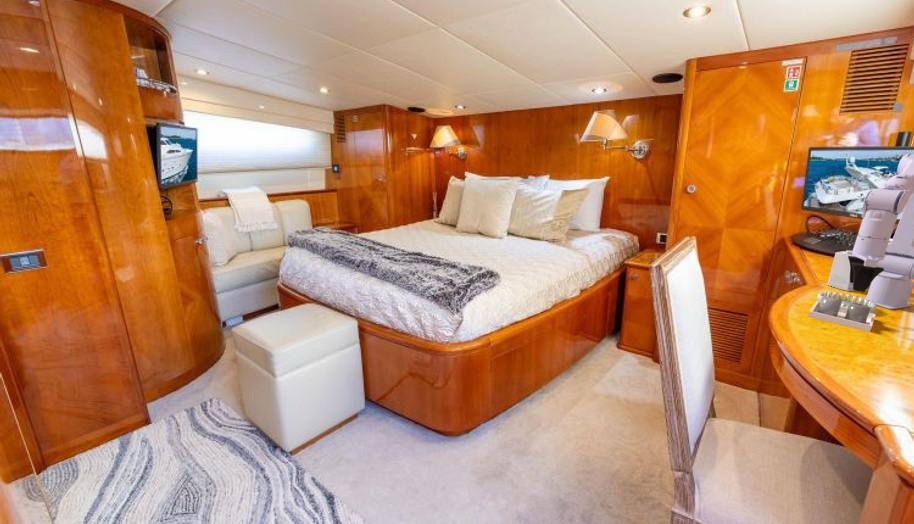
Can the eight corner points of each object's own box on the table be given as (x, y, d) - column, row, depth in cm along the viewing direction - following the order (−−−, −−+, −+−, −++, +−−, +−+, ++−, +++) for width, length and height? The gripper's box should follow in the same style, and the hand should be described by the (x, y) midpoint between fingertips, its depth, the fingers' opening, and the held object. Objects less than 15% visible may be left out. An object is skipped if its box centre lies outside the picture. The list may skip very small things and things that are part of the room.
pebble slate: (823, 311, 110) (828, 296, 108) (840, 316, 106) (845, 301, 105) (813, 312, 109) (818, 297, 107) (830, 318, 105) (835, 303, 104)
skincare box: (855, 290, 128) (867, 255, 125) (846, 291, 127) (858, 256, 123) (834, 284, 134) (844, 250, 130) (825, 285, 132) (835, 251, 129)
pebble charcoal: (850, 317, 106) (855, 302, 104) (869, 323, 102) (874, 308, 101) (840, 319, 105) (845, 303, 103) (858, 325, 101) (864, 309, 100)
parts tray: (814, 307, 113) (816, 300, 113) (873, 321, 105) (875, 314, 104) (807, 318, 106) (809, 311, 106) (869, 334, 98) (872, 326, 97)
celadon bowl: (819, 296, 122) (821, 288, 122) (875, 308, 113) (878, 300, 113) (812, 306, 115) (814, 297, 114) (872, 319, 106) (875, 311, 105)
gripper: (848, 230, 106) (834, 277, 110) (854, 239, 95) (838, 290, 99) (885, 234, 102) (869, 282, 105) (896, 243, 91) (877, 297, 95)
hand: (856, 286), depth 102 cm, fingers open, 7 cm apart
